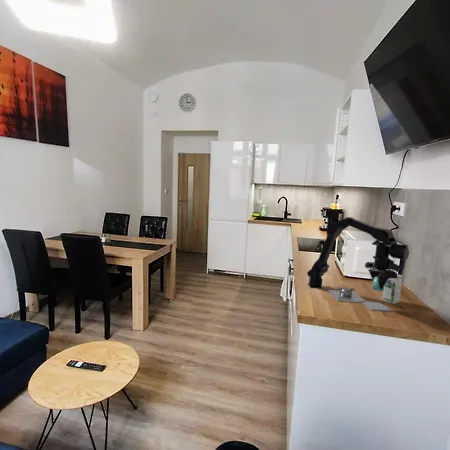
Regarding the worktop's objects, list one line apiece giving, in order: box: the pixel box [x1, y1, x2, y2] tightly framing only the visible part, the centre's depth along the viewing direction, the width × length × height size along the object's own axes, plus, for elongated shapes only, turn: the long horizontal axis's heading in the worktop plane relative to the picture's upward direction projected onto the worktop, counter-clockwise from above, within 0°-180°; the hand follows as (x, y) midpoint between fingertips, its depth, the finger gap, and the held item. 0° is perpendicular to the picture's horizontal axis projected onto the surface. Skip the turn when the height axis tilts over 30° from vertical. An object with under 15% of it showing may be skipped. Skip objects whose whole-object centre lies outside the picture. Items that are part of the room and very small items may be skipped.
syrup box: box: [381, 274, 404, 305], centre depth 145 cm, size 6×6×14 cm
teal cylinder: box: [372, 277, 384, 292], centre depth 136 cm, size 5×5×6 cm
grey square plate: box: [327, 286, 366, 304], centre depth 149 cm, size 14×14×5 cm
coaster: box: [362, 301, 392, 312], centre depth 138 cm, size 9×9×1 cm
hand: (378, 287), depth 136 cm, fingers closed on teal cylinder, 5 cm apart
